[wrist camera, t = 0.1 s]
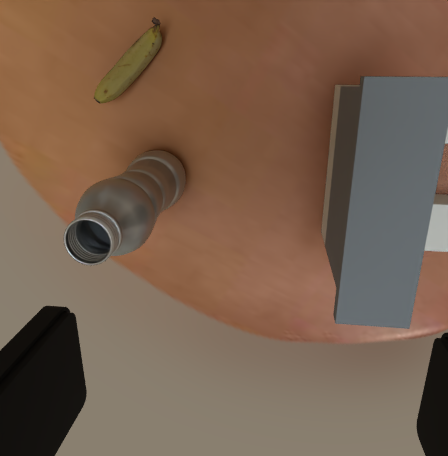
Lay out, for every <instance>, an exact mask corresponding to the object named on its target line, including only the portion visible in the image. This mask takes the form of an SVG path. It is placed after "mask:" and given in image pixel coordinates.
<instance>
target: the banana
mask: <svg viewBox="0 0 448 456" xmlns="http://www.w3.org/2000/svg"><path fill="white" fill-rule="evenodd" d="M152 22H153V23H154V24H155V26H154V27H152V28H150V29H149V30H148V31H147V32H146V33H144V34H143V35H142V36H141V37H140V38H139V39H138V40H137V41H136V42H135V43H134V44H133V45H132V46H131V47H130V48H129V49H128V50H127V52H126V53H125V54H124V55H123V56H122V58H121V59H120V60H119V61H118V62H117V63H116V65H115V66H114V67H113V68H112V69H111V70H110V71H109V72H108V73H107V75H106V76H105V77H104V78H103V79H102V80H101V82H100V83H99V85H98V86H97V89H96V91H95V95H94V99H95V100H96V101H97V102H99V103H106V102H109V101H112V100H114V99H115V98H117V97H118V96H119V95H121V94H122V93H123V92H124V91H125V90H126V89H127V88H128V87H129V86H130V85H131V84H132V83H133V82H134V81H135V79H136V78H137V77H138V76H139V75H140V74H141V73H142V71H143V70H144V69H145V68H146V67H147V65H148V64H149V63H150V62H151V60H152V59H153V58H154V56H155V55H156V54H157V52H158V50H159V49H160V46H161V43H162V35H161V33H160V31H159V27H160V21H159V20H158V19H156V18H155V17H154V18H153V20H152Z"/></svg>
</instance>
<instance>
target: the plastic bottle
mask: <svg viewBox="0 0 448 456" xmlns="http://www.w3.org/2000/svg"><path fill="white" fill-rule="evenodd" d="M185 183H186V175H185V170H184V168H183V165H182V164H181V162H180V161H179V160H178V159H177V158H176V157H175V156H174V155H172V154H170V153H168V152H166V151H161V150H154V151H147V152H144V153H142V154H140V155H139V156H137V157H136V158H135V159H134V160H133V161H132V162H131V163H130V165H129V166H128V168H127V170H126V171H125V172H124V173H122V174H120V175H118V176H116V177H112V178H108V179H105V180H102V181H100V182H98V183H95V184H94V185H92V186H91V187H89V188H88V189H87V190H86V191H85V192H84V194H83V195H82V197H81V199H80V201H79V203H78V206H77V208H76V214H75V220H74V221H72V222H71V223H70V224H69V225H68V227H67V228H66V230H65V233H64V245H65V248H66V250H67V252H68V253H69V255H70V256H71V257H72V258H73V259H75V260H76V261H78V262H79V263H82V264H85V265H97V264H100V263H102V262H104V261H106V260H107V259H108V258H109V257H110V256H118V255H124V254H127V253H130V252H132V251H134V250H136V249H138V248H140V247H141V246H142V245H143V244H144V243H145V242H146V240H147V239H148V237H149V236H150V234H151V232H152V230H153V227H154V225H155V222H156V219H157V217H158V216H159V214H160V213H161V212H162V211H163V210H166V209H167V208H169V207H171V206H172V205H174V204H175V203H176V202H177V201H178V200H179V199H180V197H181V196H182V194H183V191H184V187H185Z"/></svg>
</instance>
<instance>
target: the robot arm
mask: <svg viewBox="0 0 448 456" xmlns="http://www.w3.org/2000/svg"><path fill="white" fill-rule="evenodd" d="M85 400H86V385H85V378H84V371H83V364H82V358H81V351H80V344H79V337H78V330H77V323H76V317H75V314H74V313H70V310H69V309H68V308H67V307H57V306H45V307H43V308H42V309H41V310H40V311H39V312H38V313H37V314H36V315H35V316H34V317H33V318H32V319H31V320H30V321H29V322H28V323H27V324H26V325H25V326H24V327H23V328H22V329H21V330H20V331H19V332H18V333H17V334H16V335H15V336H14V338H13V339H11V340H10V341H9V343H7V345H6V346H4V347H3V348H2V349H1V351H0V456H55V454H56V452H57V451H58V449H59V447H60V445H61V443H62V442H63V440H64V438H65V437H66V435H67V433H68V432H69V430H70V428H71V426H72V424H73V423H74V421H75V419H76V418H77V416H78V414H79V413H80V411H81V409H82V407H83V405H84V403H85ZM417 433H418V437H419V440H420V442H421V445H422V448H423V450H424V453H425V455H426V456H448V333H444V334H443V335H442V337H441V338H436V339H435V341H434V344H433V348H432V353H431V358H430V362H429V367H428V372H427V377H426V381H425V386H424V391H423V395H422V400H421V405H420V409H419V414H418V419H417Z"/></svg>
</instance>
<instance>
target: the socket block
mask: <svg viewBox="0 0 448 456" xmlns="http://www.w3.org/2000/svg"><path fill="white" fill-rule="evenodd" d="M445 143H446V144H448V77H381V76H361V79H360V85H335V92H334V102H333V113H332V123H331V134H330V144H329V155H328V166H327V176H326V187H325V197H324V208H323V218H322V229H321V233H322V237H323V240H324V244H325V248H326V251H327V255H328V259H329V262H330V266H331V269H332V273H333V277H334V280H335V284H336V297H335V306H334V320H335V323H336V324H351V325H365V326H379V327H393V328H407V329H409V327H410V322H411V317H412V312H413V306H414V301H415V296H416V291H417V286H418V280H419V275H420V270H421V265H422V259H423V254H424V251H443V252H448V194H435V192H436V187H437V181H438V176H439V171H440V166H441V161H442V155H443V150H444V145H445Z"/></svg>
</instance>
